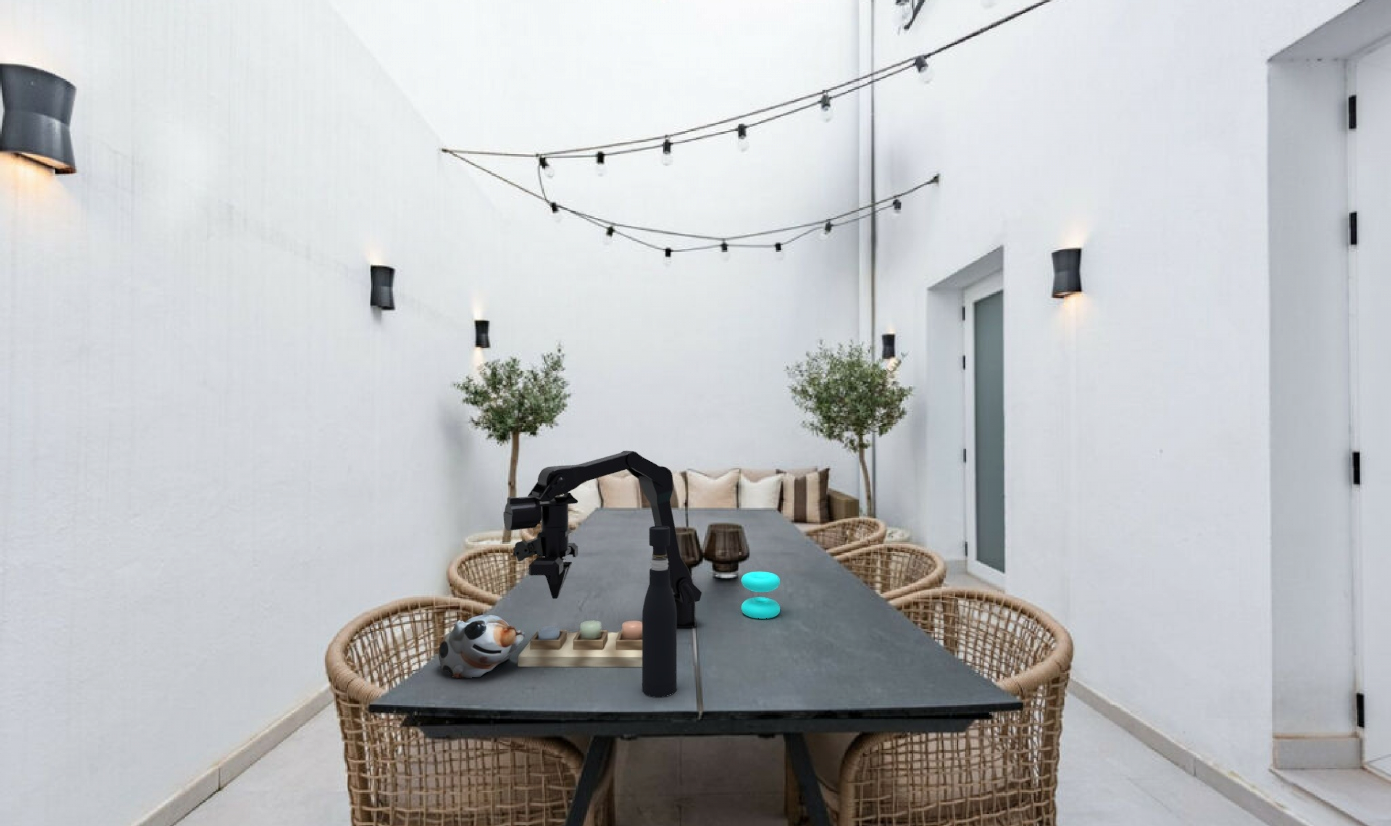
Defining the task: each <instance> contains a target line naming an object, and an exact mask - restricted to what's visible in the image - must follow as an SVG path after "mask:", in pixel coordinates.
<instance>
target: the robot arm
mask: <svg viewBox="0 0 1391 826" xmlns="http://www.w3.org/2000/svg"><path fill="white" fill-rule="evenodd" d="M625 470H626V471H628V473H630V475H631V476H633V477H634V478H636V479H638V482H639V484H640V488H641V490H642V493H643V494H644V496H645V497H646V499H647V500H648V502H649V504H650V508H651V513H652V517H653V518H652V519H653V523H654V526H668V527H670V545H669V546H666V554H667V556H666V557H664V558H667V559H668V568H669V569H670V586H671V589H672V592H673V595H674V599H675V604H676V610H677V629H678V628H680V629H681V628H685V629H687V628H689V629H690V628H691V629H693V628H694V629H695V628H696V624H697V623H696V621H697V618H696V602H700V601H701V597H702V591H701V590H700V589H699V588H698V587H697V586H696V585H695V584H694V583H693V578H692V575H691V573H690V570H689V568H688V566H687V565H686V563H685V561H684V560H683V558H682V556H681V551H680V546H679V541H678V536H677V530H676V525H675V524H676V523H675V518H674V515H673V509H672V504H671V503H672V502H671V499H672V495H673V491H674V476H673V472H672V470H670V469H669V468H668V467H666V466H662V465H658V464H657V463H654V462H653V461H651V460H649V459H647V458H646V457H643V456H642V455H641V454H639V453H638V452H637V451H633V450H622V451H620V452H619V453H614V454H612V455H609V456H604V457H601V458H596V459H593V460H590V461H586V462H582V463H579V464H572V465H571V464H570V465H553V466H547V467H544V468H542V469H541V470H540V473H539V474H538V476H537V482H536V483H535V485H534V486H533V488H531V490H530V492H529V493H528V495H527V496H519V497H516V496H508V497H507V498H506V504H505V507H504V511H503V523H504V524H503V525H504V528H505V530H506V531H510V532H511V531H517V530H526V529H527V530H528V529H529V530H530V529H536V527H537V526H538V525H540V527H541V529H540V531H538V533H537V535H536V537H534V538H532V539H529V540H525V539H522V540H520V541H517V542H515V543H514V547H513V548H512V550H513V553H512V556H513V557H516V559H517V561H518V563H519V562H522V561H524V560H525V559H527V558H530V557H533V556H535V555H536V558H535V559H534V560H533V561H532V562H530V564H529V565H528V575H529V576H544V577H545V579H546V582H547V584H548V585H547V586H548V588H549V592H550V596H551V599H553V600H556V599H558V598H559V596H560V593H561V591H562V588H563V585H564V583H565V581H566V579H567V576H568V574H569V572H570V568H571V566H572V565H573V562H572V561H567V560H566V558H565V557H568V556H571V555H572V558H576V557H577V556H578V555H579V546H578V545H577V544H576V543H575V542H569V536H570V534H571V528H570V527H569V505H571V504H573V505H574V504H578V502H579V501H578V499H576V497H575V496H573V495H572V493H571V491H574V490H576V489H577V488H579V486H580V485H582V484H584V483H587V482H588V481H592V480H595V479H599V478H602V477H605V476H608V475H609V476H610V475H613V474H616V473H619V472H622V471H625Z"/></svg>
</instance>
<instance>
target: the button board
mask: <svg viewBox="0 0 1391 826" xmlns="http://www.w3.org/2000/svg"><path fill="white" fill-rule="evenodd" d="M608 631H609V630H605V629H603V630H602V629H601V636H600V637H599V638H596V639H583V638H581V637H580V629H579V630H578V631H575V632H571V631H570V632H568V630H567V629H565V630H564V629H560V637H559V639H558V640H538V630H537V631H536V632H535V633H534V635H532V637H531V639H530V641H529V642H528V643H527V645H526V646H525V647H523V649H522V651H521V652H520V653H519V655H518V656H517V667H539V668H540V667H541V668H542V667H545V668H546V667H548V668H549V667H553V668H555V667H558V668H560V667H561V668H562V667H563V668H565V667H566V668H567V667H568V668H569V667H571V668H572V667H573V668H576V667H577V668H579V667H580V668H582V667H583V668H584V667H585V668H642V637H641V638H639V639H633V640H630V639H625V638H623V637H622V629H621V630H620V631H618V632H608Z"/></svg>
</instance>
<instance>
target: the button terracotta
mask: <svg viewBox="0 0 1391 826" xmlns="http://www.w3.org/2000/svg"><path fill="white" fill-rule="evenodd" d="M621 628H622V629H621V630H622V637H623V638H625V639H630V640H633V639H639V638H641V637H642V621H641V620H640V621H639V620H627V621H624V622H623V623H622V627H621Z"/></svg>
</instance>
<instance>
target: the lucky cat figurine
mask: <svg viewBox="0 0 1391 826" xmlns="http://www.w3.org/2000/svg"><path fill="white" fill-rule="evenodd" d="M525 637H526V633H525V631H522V629H516V628H515V626H512V625H509V623H508V622H507V621H505V620H504V619H502V617H501V616H497V615H495V614H490V615H489V614H488V615H487V614H480V615H476V616H471V618H468V619H467V620H466V621H463V620H462V619H459V620H457V621H456V623H455V624H454V626H453V629H452V630H451V631H449V632H448V633H447V634H446V635H444V636H443V638H442V639H441V642H440V644H439V646H438V650H437V651H438V652H437V654H438V660H439V664H440V667H441V671H444V672H445V671H447V672H448V674H450V676H451V677H452V676H453V677H456V678H455V679H464V678H463V677H470V678H469V679H473V678H472V677H479V678H480V677H482V676H483V675H484V674H487V672H491V671H492V670H494V668H495V667H497V666H498V665H500V664H501V663H505V662H506V661H507V660H508V659H510V658H511V654H512V653H513V652H514V651H515V650H517V649H518V647H520V645H521V644H522V642H523V641H524V640H525ZM453 677H452V678H453ZM461 677H462V678H461Z"/></svg>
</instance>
